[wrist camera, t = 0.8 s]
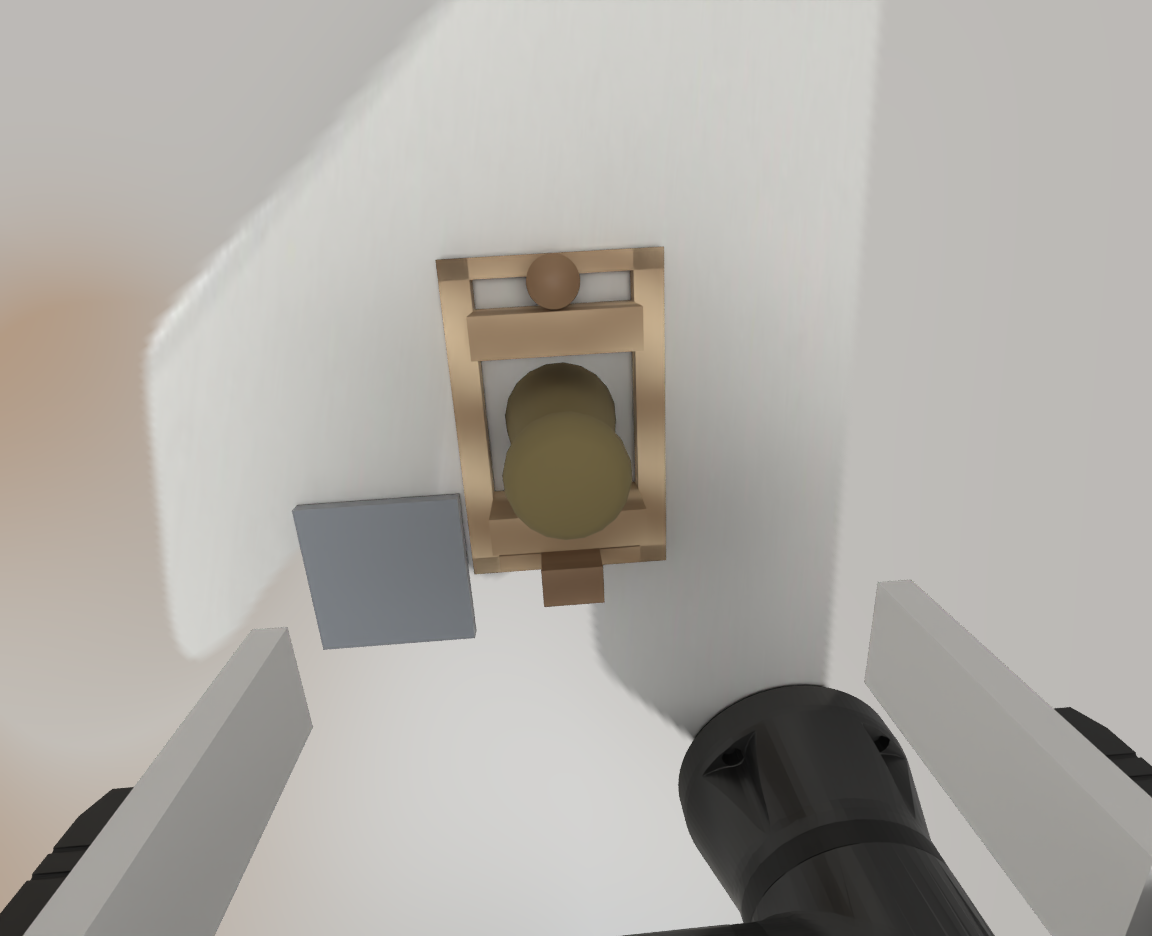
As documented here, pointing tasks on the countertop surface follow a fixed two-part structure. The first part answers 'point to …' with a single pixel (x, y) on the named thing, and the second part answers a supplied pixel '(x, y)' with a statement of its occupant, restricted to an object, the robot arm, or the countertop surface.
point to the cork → (564, 453)
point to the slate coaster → (387, 570)
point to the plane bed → (547, 333)
